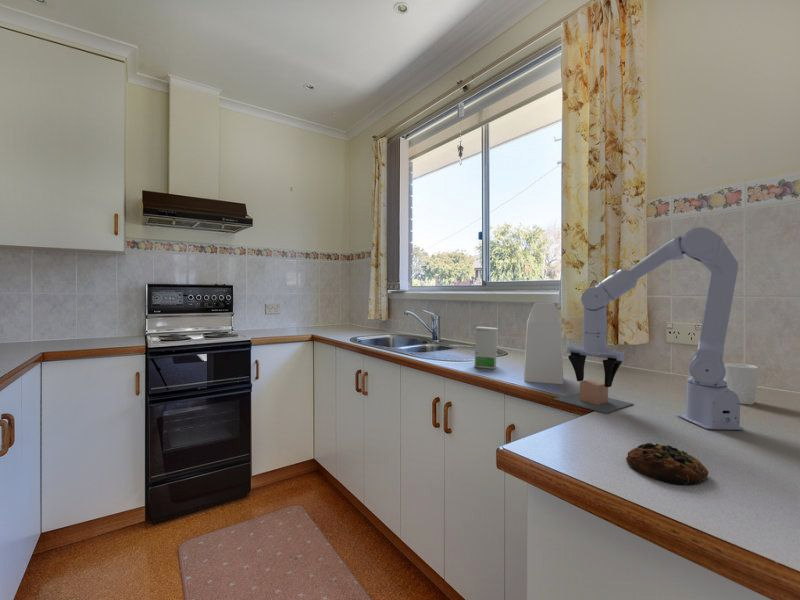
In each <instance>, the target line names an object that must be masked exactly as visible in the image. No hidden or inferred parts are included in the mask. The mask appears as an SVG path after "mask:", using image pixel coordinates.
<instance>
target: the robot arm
mask: <svg viewBox="0 0 800 600" xmlns="http://www.w3.org/2000/svg"><path fill="white" fill-rule="evenodd" d="M684 255H686V256H688V257H689V258H691V259H693V260H695V261H697V262H699V263H701V264H702V265H703V266H704V268H706V269H707V270H708V271H709V272H710V277H709V283H708V284H709V285H708V289H707V294H706V301H705V305H704V306H705V307H704V313H703V319H702V323H701V328H700V334H699V341H698V345H697V351H696V353H695V354H694V355H692V357H691V359H690V362H689V367H688V370H689V374H690V376H689V377H687V378H686V396H685V397H686V400H685V401H686V402H685V413H680V412H679V413H678V412H677V413H676V416H677V417H679V418H681V419H683V420H686V421H688V422H690V423H693V424H695V425H697V426H699V427H702V428H704V429H706V430H729V431H730V430H733V431H736V430H738V431H743V430H744V427H742V426H741V425H740V421H741V420H740V419H741V404H740V399H739V397H738V395H737V394H736V393H735V392H733V391H731V390H730V389H729V388H728V387H727V382H726V381H724V380H723V379H724V377H725V375H726V369H725V366H724V363H725V362H724V361H723V358H724V352H725V342H726V336H727V331H728V326H729V321H730V316H731V315H730V314H731V309H732V304H733V298H734V293H735V287H736V281H737V277H738V271H739V262H738V260H737V259H736V258H735V256H734V254H733V253H732V252H731V250H730V249H729V247H728V245H727V244H726V242H725V240H724V239H723V238H722V236H720V235H719V234H718V233H716V232H714V231H713V230H711V229H709V228H707V227H703V226H701V227H700V226H698V227H694V228H691V229H689V230H687V231H686V232H684V234H683V235H678V236H676V237H675V238H673V239H671V240H669V241H668V242H667V243H665V244H663V245H662V246H660V247H659V248H657V249H656V250H655V251H653V252H652V253H650V254H649V255H648V256H646V257H645V258H643V259H641V260H640V261H639V262H638V263H636V264H635V265H633V266H632V267H630V268H629V269H625V268H620V269H619V270H616V269H614V270H612V271H611V272H610V275H609V276H608V277H606V278H605V279H603V280H602V281H600V282H599V281H597V282H596V283H594V287H593V286H592V287H588V288H586V290H584V291H583V292H582V295H581V297H580V298H581V299H580V300H581V304H582V305H583V315H582V346H573V345H569V346H567V347H566V353H567V354H570V355H568V357H567V358H568V360H569V362H570V363H571V365H572V368H573V371H574V374H575V378H576V382H581V381H584V379H585V378H584V377H585V364H586V358H587V356H588V357H593V358H594V357H596V358H602V364H603V369H604V370H603V371H604V382H605V387H608V388H610V387H612V385H613V382H614V378H615V377H616V376H615V375H616V373H617V371H618V370H619V368H620V366H621V365H622V363H623V361H625V357H626V356H625V352H621V351H616V350H611V349H607V347H608V345H607V341H608V338H607V337H608V336H607V334H608V316H607V307H608V306H609V304H610V302H611V301H612V302H613V301H615V300H617V299H619V298H620V297H622V296H623V295H625V294H626V293H629V291H631V290H632V289H635V288H636V287H637V281H638V280H639V279H640V278H642V277H644V276H645V275H647V274H649V273H650V272H652V271H654V270H655V269H658V268H659V267H660V266H662V265H664V264H666V263H667V262H669V261H676V260H684V259H685V258H684Z"/></svg>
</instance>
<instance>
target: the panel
mask: <svg viewBox="0 0 800 600" xmlns="http://www.w3.org/2000/svg"><path fill="white" fill-rule="evenodd" d="M553 400H554V401H556V402H560V403H565V404H569V405H572V406H576V407H579V408H583V409H587V410H590V411H595V412H597V413H602V414H604V415H605V414H609V413H612V412H615V411H618V410H622V409H624V408H628V407H631V406H634V403H632V402H628V401H623V400H619V399H615V398H611V397H608V402H606V403H602V404H599V405H597V404H593V403H589V402H585V401H581V400H580V392H576V393H572V394H567V395H564V396H560V397H555V398H553Z"/></svg>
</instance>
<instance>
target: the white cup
mask: <svg viewBox="0 0 800 600" xmlns="http://www.w3.org/2000/svg"><path fill="white" fill-rule="evenodd" d="M724 366H725V369H726V375H725V377H724V379H723V380H724V381H726V382H727V387H728V388H729V389H730V390H731V391H733V392H735V393H736V394H737V395H738V397H739V399H740V405H754V404H755V401H756V400H755V399H756V393H757V386H758V377H759V376H758V375H759V374H758V373H759V367H758V366H757V365H753V364H748V363H747V364H746V363H738V362H724Z"/></svg>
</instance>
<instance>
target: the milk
mask: <svg viewBox="0 0 800 600" xmlns="http://www.w3.org/2000/svg"><path fill="white" fill-rule="evenodd" d="M562 329H563V328H562V322H561V320H560V316H559V314H558V311H557V308H556V306H555V304H554V302H534V304H533V306H532V307H531V310H530V313H529V315H528V319H527V322H526V330H525V331H526V332H525V333H526V334H525V347H524V348H525V349H524V362H523V363H524V366H523V380H524V381H523V382H530V383H531V382H532V383H543V384H555V385H564V357H563V353H564V352H563V330H562Z"/></svg>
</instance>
